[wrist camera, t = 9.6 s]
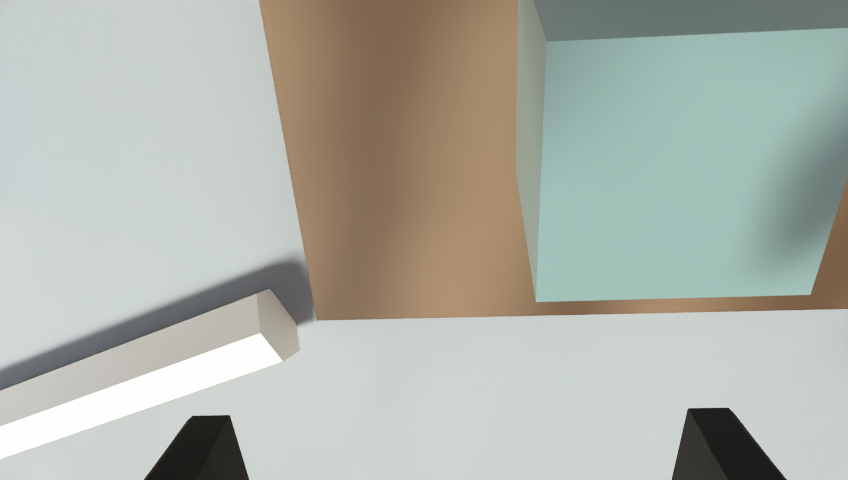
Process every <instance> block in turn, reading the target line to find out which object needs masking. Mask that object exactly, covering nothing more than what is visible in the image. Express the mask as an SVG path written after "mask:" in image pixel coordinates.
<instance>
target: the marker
mask: <svg viewBox="0 0 848 480" xmlns="http://www.w3.org/2000/svg"><path fill="white" fill-rule="evenodd" d="M299 350H300V347H299V339H298V331H297V324H296V323H295V321H294V320H293V319H292V317H291V316H290V315H289V313H288V312H287V311H286V309H285V308H284V307H283V305H282V304H281V303H280V301H279V300H278V299H277V297H276V296H275V295H274V294H273V292H272V291H271V290H270V289H267V290H264V291H262V292H259V293H256V294H254V295H251V296H248V297H246V298H243V299H240V300H238V301H235V302H233V303H230V304H227V305H225V306H222V307H219V308H217V309H214V310H211V311H209V312H206V313H203V314H201V315H198V316H196V317H193V318H190V319H188V320H185V321H182V322H180V323H177V324H174V325H172V326H169V327H167V328H164V329H161V330H159V331H156V332H153V333H151V334H148V335H145V336H143V337H140V338H137V339H135V340H132V341H130V342H127V343H124V344H122V345H119V346H116V347H114V348H111V349H108V350H106V351H103V352H100V353H98V354H95V355H93V356H90V357H87V358H85V359H82V360H79V361H77V362H74V363H71V364H69V365H66V366H64V367H61V368H58V369H56V370H53V371H50V372H48V373H45V374H42V375H40V376H37V377H34V378H32V379H29V380H27V381H24V382H21V383H19V384H16V385H13V386H11V387H8V388H5V389H3V390H0V459H1V458H4V457H7V456H10V455H13V454H16V453H18V452H21V451H24V450H27V449H30V448H33V447H36V446H39V445H42V444H45V443H48V442H50V441H53V440H56V439H59V438H62V437H65V436H68V435H71V434H74V433H77V432H79V431H82V430H85V429H88V428H91V427H94V426H97V425H100V424H103V423H106V422H108V421H111V420H114V419H117V418H120V417H123V416H126V415H129V414H132V413H135V412H137V411H140V410H143V409H146V408H149V407H152V406H155V405H158V404H161V403H164V402H166V401H169V400H172V399H175V398H178V397H181V396H184V395H187V394H190V393H193V392H195V391H198V390H201V389H204V388H207V387H210V386H213V385H216V384H219V383H222V382H224V381H227V380H230V379H233V378H236V377H239V376H242V375H245V374H248V373H251V372H253V371H256V370H259V369H262V368H265V367H268V366H271V365H274V364H277V363H280V362H282V361H284V360H286V359H287V358H289V357H290V356H292V355H293V354H294V353H296V352H297V351H299Z"/></svg>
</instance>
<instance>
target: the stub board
mask: <svg viewBox="0 0 848 480" xmlns="http://www.w3.org/2000/svg"><path fill="white" fill-rule="evenodd" d="M259 3H260V8H261V14H262V19H263V25H264V30H265V36H266V41H267V47H268V53H269V58H270V64H271V69H272V75H273V80H274V86H275V91H276V97H277V102H278V108H279V113H280V119H281V125H282V130H283V136H284V141H285V147H286V152H287V158H288V163H289V169H290V174H291V180H292V185H293V191H294V197H295V202H296V208H297V213H298V219H299V224H300V230H301V235H302V241H303V246H304V252H305V257H306V263H307V269H308V274H309V280H310V285H311V291H312V296H313V302H314V307H315V313H316V318H317V320H356V319H402V318H448V317H494V316H540V315H587V314H633V313H679V312H725V311H771V310H817V309H848V178H847V182H846V185H845V188H844V191H843V194H842V197H841V200H840V204H839V207H838V210H837V213H836V216H835V219H834V222H833V225H832V229H831V232H830V235H829V238H828V241H827V244H826V247H825V250H824V254H823V257H822V260H821V263H820V266H819V269H818V272H817V276H816V279H815V282H814V285H813V288H812V291H811V294H810V295H785V296H747V297H709V298H671V299H633V300H596V301H558V302H536V300H535V293H534V287H533V280H532V274H531V267H530V261H529V254H528V248H527V241H526V235H525V228H524V222H523V215H522V209H521V203H520V196H519V190H518V183H517V177H516V170H515V167H516V110H517V52H518V0H259Z"/></svg>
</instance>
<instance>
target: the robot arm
mask: <svg viewBox="0 0 848 480" xmlns="http://www.w3.org/2000/svg"><path fill="white" fill-rule="evenodd" d="M144 480H249V478H248V474H247V471H246V468H245V465H244V461H243V458H242V455H241V451H240V448H239V445H238V441H237V438H236V435H235V431H234V428H233V425H232V421H231V418H230V415H223V416H192V417H191V418H190V419H189V420H188V421H187V422H186V423H185V425H184V426H183V427H182V429H181V430H180V432H179V433H178V434H177V436H176V437H175V438H174V440H173V441H172V442H171V444H170V445H169V447H168V448H167V449H166V451H165V452H164V453H163V455H162V456H161V457H160V459H159V460H158V462H157V463H156V464H155V466H154V467H153V468H152V470H151V471H150V472H149V474H148V475H147V476H146V478H145V479H144ZM672 480H786V478H785V477H784V476H783V475H782V473H781V472H780V471H779V470H778V469H777V467H776V466H775V465H774V464H773V462H772V461H771V460H770V459H769V457H768V456H767V455H766V454H765V452H764V451H763V450H762V449H761V447H760V446H759V445H758V443H757V442H756V441H755V440H754V438H753V437H752V436H751V435H750V433H749V432H748V431H747V429H746V428H745V427H744V426H743V424H742V423H741V422H740V420H739V419H738V418H737V416H736V415H735V414H734V413H733V412H732V411H731V410H730V409H729V408H690V409H688V411H687V415H686V420H685V424H684V428H683V433H682V437H681V442H680V446H679V450H678V455H677V459H676V463H675V468H674V472H673V477H672Z"/></svg>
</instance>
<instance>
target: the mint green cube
mask: <svg viewBox="0 0 848 480" xmlns="http://www.w3.org/2000/svg"><path fill="white" fill-rule="evenodd" d="M515 170H516V177H517V183H518V190H519V196H520V203H521V209H522V215H523V222H524V228H525V235H526V241H527V248H528V254H529V261H530V267H531V274H532V280H533V287H534V293H535V300H536V302H558V301H596V300H633V299H671V298H709V297H747V296H785V295H810V294H811V291H812V288H813V285H814V282H815V279H816V276H817V272H818V269H819V266H820V263H821V260H822V257H823V254H824V250H825V247H826V244H827V241H828V238H829V235H830V232H831V229H832V225H833V222H834V219H835V216H836V213H837V210H838V207H839V204H840V200H841V197H842V194H843V191H844V188H845V185H846V182H847V178H848V0H518V52H517V110H516V167H515Z"/></svg>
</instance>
